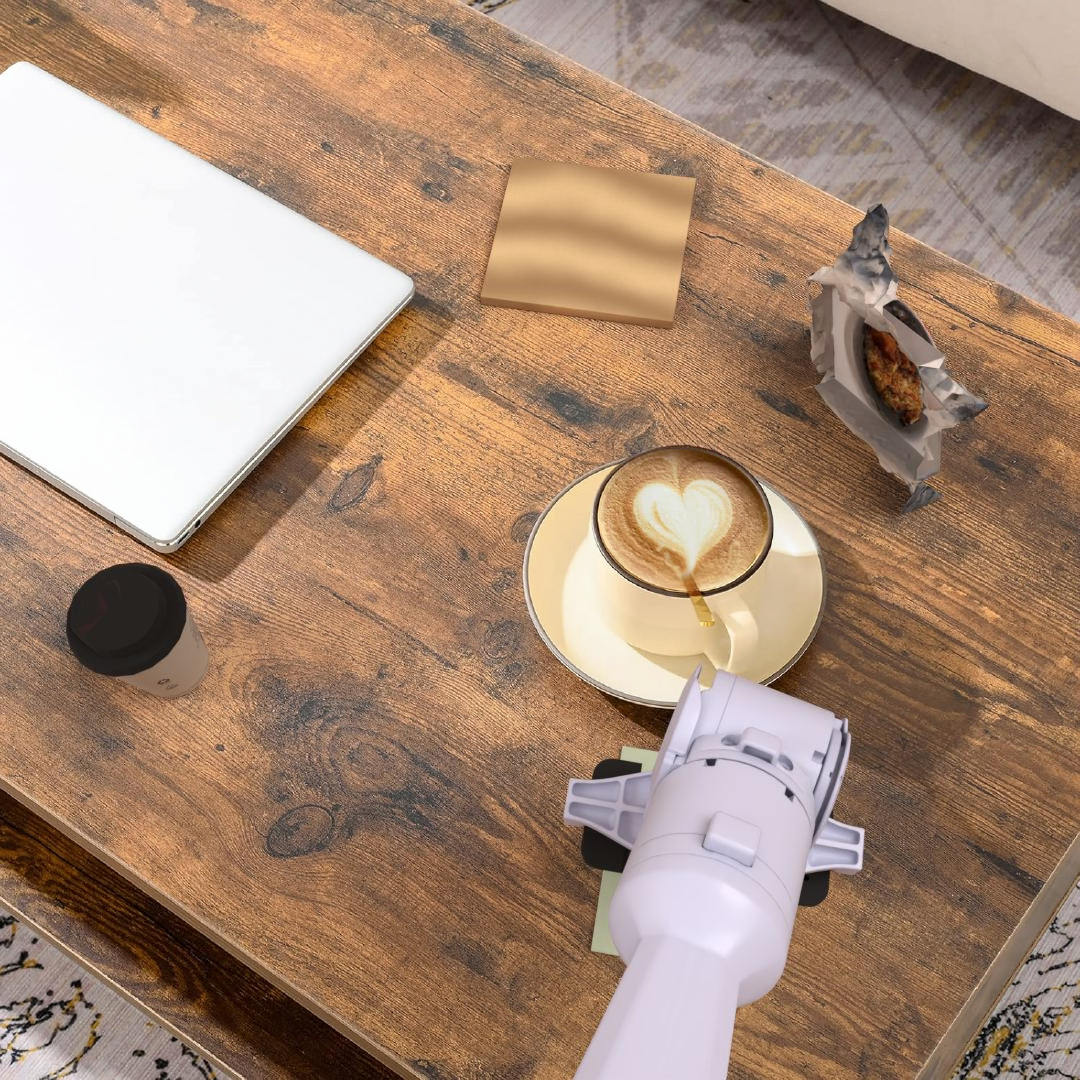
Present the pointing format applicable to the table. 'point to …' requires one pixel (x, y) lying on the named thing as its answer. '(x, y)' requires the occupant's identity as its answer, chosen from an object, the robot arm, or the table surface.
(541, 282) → the bread board
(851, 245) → the meal
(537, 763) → the table surface
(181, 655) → the coffee cup
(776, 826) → the robot arm
